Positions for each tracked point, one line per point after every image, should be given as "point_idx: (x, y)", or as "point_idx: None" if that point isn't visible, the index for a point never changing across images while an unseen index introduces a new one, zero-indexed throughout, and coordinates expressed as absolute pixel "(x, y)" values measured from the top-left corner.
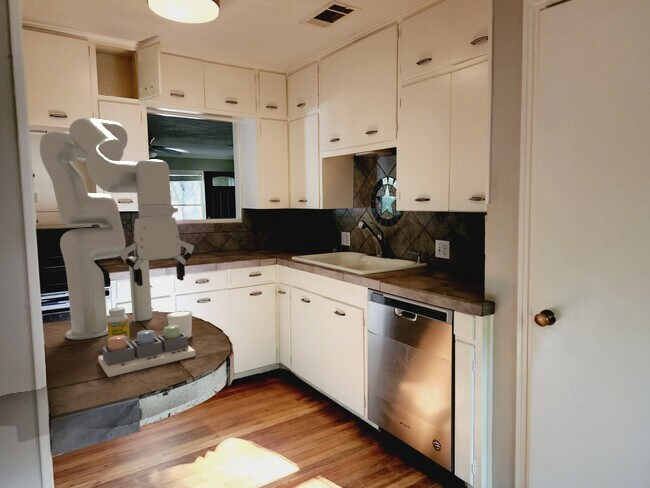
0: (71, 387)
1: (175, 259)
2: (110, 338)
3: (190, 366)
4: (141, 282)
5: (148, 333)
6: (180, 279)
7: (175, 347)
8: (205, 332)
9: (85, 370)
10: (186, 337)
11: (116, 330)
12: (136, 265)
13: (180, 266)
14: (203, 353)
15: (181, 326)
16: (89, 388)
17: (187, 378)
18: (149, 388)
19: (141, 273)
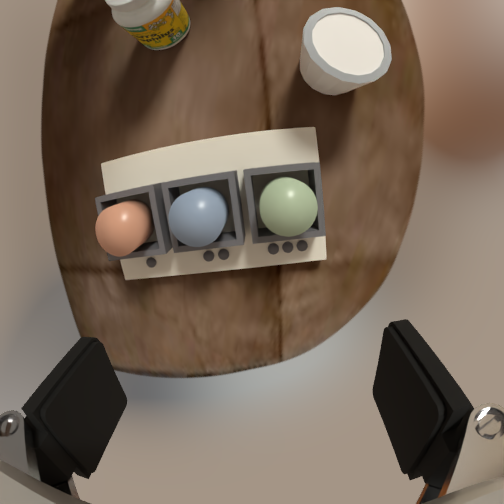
0: (82, 283)
1: (454, 466)
2: (100, 224)
3: (292, 310)
4: (117, 415)
5: (202, 237)
6: (373, 395)
7: None
8: (395, 77)
9: (88, 206)
10: (321, 235)
11: (141, 36)
12: (53, 484)
13: (407, 466)
14: (345, 246)
15: (337, 87)
16: (109, 306)
17: (270, 360)
18: (202, 363)
19: (100, 456)
